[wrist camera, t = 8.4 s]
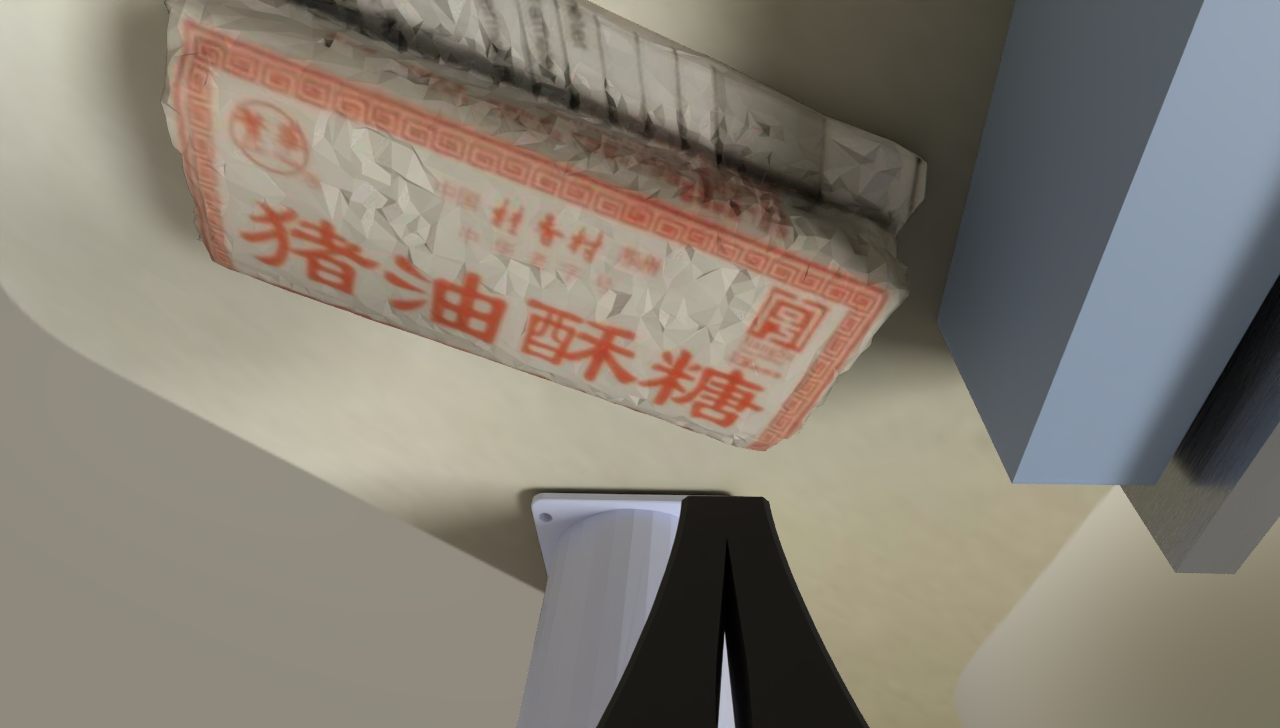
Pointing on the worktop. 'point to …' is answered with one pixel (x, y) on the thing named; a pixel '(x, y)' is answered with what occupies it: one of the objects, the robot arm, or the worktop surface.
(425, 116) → the packaged product
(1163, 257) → the grayish blue rectangular block
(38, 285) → the worktop surface
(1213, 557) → the bookend
